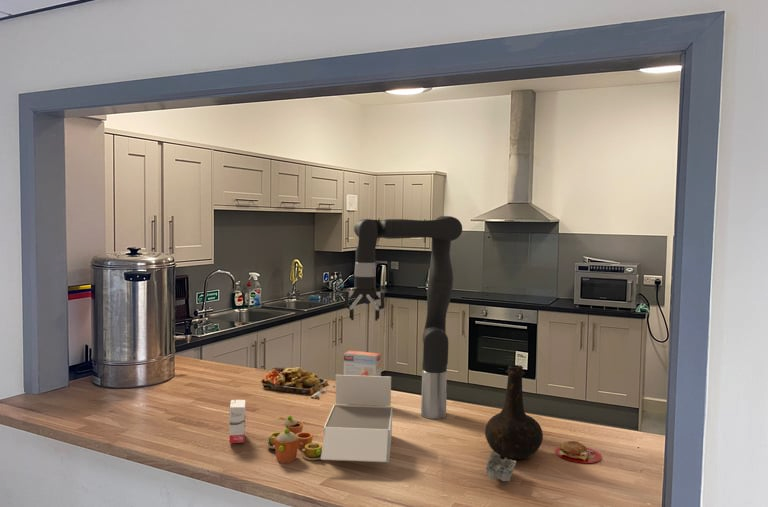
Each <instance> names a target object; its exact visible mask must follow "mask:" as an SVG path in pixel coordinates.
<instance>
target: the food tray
mask: <svg viewBox="0 0 768 507" xmlns="http://www.w3.org/2000/svg"><path fill="white" fill-rule="evenodd" d="M260 383H261V385H262V387H263V389H265V390H270V391H277V392H280V391H281V392H283V393H293V394H297V395H298V394H299V395H311V397H310V398H311V399H316V398H320V396H322V395H323V392H326V390H327V388H335V385H330V384H328V383H329V380H328V379H324V378H319V376H318V374H316V373H312V371H308V370H302V367H300V366H299V367H298V366H296V367H295V366H283V367H272V368H270V372H267V373H266V375H265V376H264V378H261V380H260Z"/></svg>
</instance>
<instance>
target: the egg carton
mask: <svg viewBox="0 0 768 507" xmlns="http://www.w3.org/2000/svg"><path fill="white" fill-rule="evenodd" d="M516 464H517V460H516V459H510V458H506V457H504V459H502V458H501V456H500V455H499V454H497V453H496V452H495V451H493V450H492V452H491V454H490V457H489V458H488V461H487V463H486V466H485V467H486V468H485V469H486V474H485V475H486V476H487V477H488V478H490V479H499V480H501V481H503V482H511V478H512V476H513V472H514V467H515V466H516Z"/></svg>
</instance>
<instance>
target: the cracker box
mask: <svg viewBox="0 0 768 507" xmlns="http://www.w3.org/2000/svg"><path fill="white" fill-rule="evenodd" d="M362 371H367V372H368V376H382V353H379V352H378V353H377V352H369V351H368V352H367V351H358V350H348V351H346V352H344V353H343V375H358V376H361V373H362ZM350 405H354V404H350ZM363 406H380V405H363Z"/></svg>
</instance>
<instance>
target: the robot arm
mask: <svg viewBox="0 0 768 507" xmlns="http://www.w3.org/2000/svg"><path fill="white" fill-rule="evenodd" d="M462 224H463V223H461V221H460V220H459V219H458V218H456V217H454V216H450V215H449V216H448V215H446V216H445V215H442V216H439V217H437V218H436V219H431V220H429V219H428V220H421V219H419V220H418V219H408V218H407V219H404V218H403V219H402V218H399V219H397V218H389V219H388V218H387V219H370V218H366V219H364V218H362V219H359V220H358V221H356V223H355V224H354V227H353V232H354V233H355V235H356V236H357V237H358V244H357V247H356V249H355V263H354V273H353V275H354V281H353V282H354V284H353V285H354V287H353V288H354V289H353V291H350V290H346V291H345V294H344V304H343V306H344V308H345V309H348V310H349V319H351V321H354V319H355V309H354V308H355V306H356V305H357V304H360V305H361V304H367V305H369V304H371V305H372V306H373V308H374V309H375V312H374V314H375V315H374V318H375V319H374V321H378V320H379V319H380V311H381V310H383V309H385V305H386V304H385V292H384V291H383V290H381V291H376V282H377V281H376V273H377V272H376V271H377V268H376V246H377V242H378V239H380V238H382V239H390V240H391V239H415V238H416V239H417V238H418V239H419V238H427V239H428V238H430V239H431V255H430V264H429V272H428V282H427V293H426V294H427V296H426V297H427V298H426V300H427V302H426V307H427V308H426V310H427V311H426V318H425V319H426V320H425V324H424V329H423V333H422V343H423V347H422V348H423V350H422V351H423V352H422V355H423V356H422V364H421V367H422V368H421V405H420V406H421V407H420V408H421V409H420V411H421V412H420V415H421V416H422V417H424V418H427V419H431V420H438V419H440V420H441V419H446V418H447V396H448V395H447V394H448V393H447V373H448V372H447V370H448V363H449V338H448V336H447V333H446V332H447V331H446V326H447V324H446V322H447V320H446V319H447V312H448V309H449V305H450V302H451V299H452V294H453V293H452V292H453V285H454V284H453V283H454V272H453V267H452V261H451V254H450V252H451V251H450V250H451V244H452V242H453V241H455V240H457V239H458V238H460V236H461V235H462V233H463V225H462ZM352 295H353V297H354V298H355V299H354V301H353V302H352V303H351V304H349V303H350V298H351V297H352ZM376 297H378V298H379V299H380V305H379V304H378V303H377V301H376V300H375V298H376Z"/></svg>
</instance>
